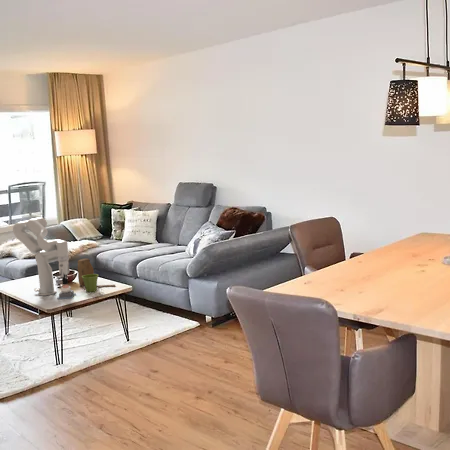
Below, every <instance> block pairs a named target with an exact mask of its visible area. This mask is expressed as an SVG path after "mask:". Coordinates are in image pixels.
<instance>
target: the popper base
mask: <svg viewBox="0 0 450 450" xmlns="http://www.w3.org/2000/svg"><path fill="white" fill-rule="evenodd" d="M75 296H76V293H75V292H74V289H73V290H72V289H71V291H70V292H69V293H62V292H58V296H57V300H65V299H66V300H67V299H69V300H70V299H71V300H72V299H73V298H74V297H75Z"/></svg>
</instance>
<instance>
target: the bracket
mask: <svg viewBox="0 0 450 450" xmlns="http://www.w3.org/2000/svg"><path fill="white" fill-rule="evenodd" d="M109 287H113V288H115V287H116V284H102V285H101V284H100V285H98V284H97V288H109Z"/></svg>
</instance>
